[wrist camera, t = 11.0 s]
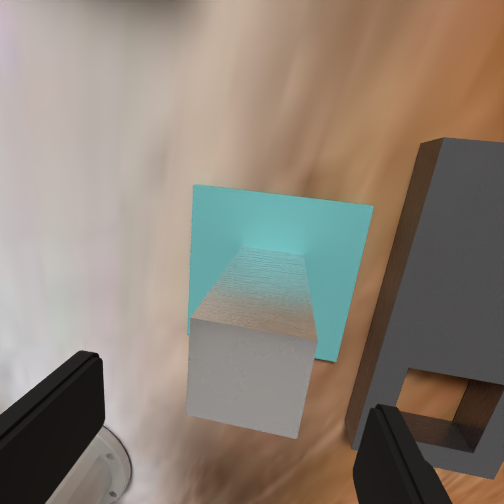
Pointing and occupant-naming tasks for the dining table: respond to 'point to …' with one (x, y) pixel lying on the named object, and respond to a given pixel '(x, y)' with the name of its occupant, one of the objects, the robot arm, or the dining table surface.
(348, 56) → the dining table surface
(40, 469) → the robot arm
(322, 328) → the mat
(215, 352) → the steel block
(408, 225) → the slotted plate
